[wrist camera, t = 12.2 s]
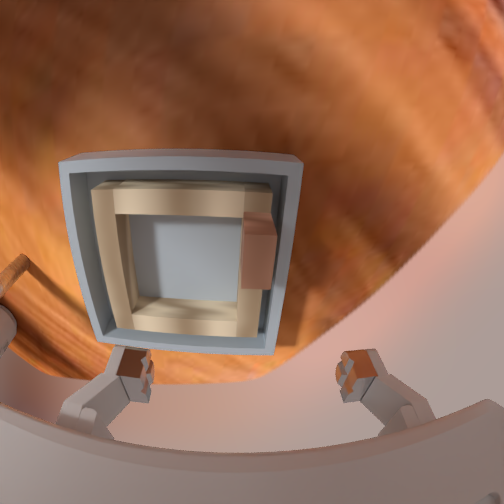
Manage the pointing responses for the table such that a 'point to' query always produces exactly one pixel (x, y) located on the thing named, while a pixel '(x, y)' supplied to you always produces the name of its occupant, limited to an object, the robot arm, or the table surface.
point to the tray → (181, 240)
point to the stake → (13, 273)
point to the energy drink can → (6, 328)
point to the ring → (189, 204)
